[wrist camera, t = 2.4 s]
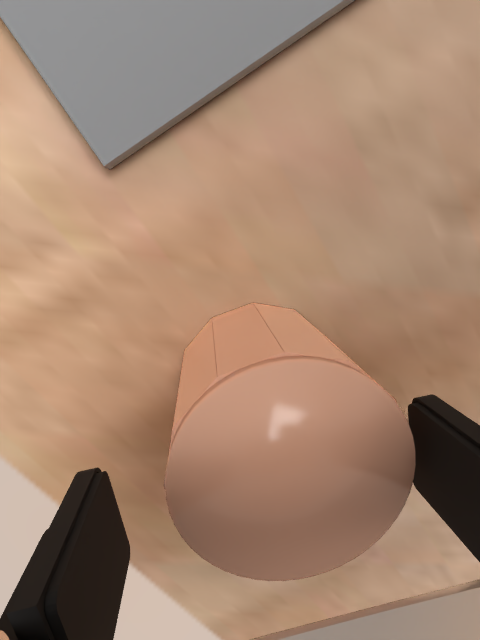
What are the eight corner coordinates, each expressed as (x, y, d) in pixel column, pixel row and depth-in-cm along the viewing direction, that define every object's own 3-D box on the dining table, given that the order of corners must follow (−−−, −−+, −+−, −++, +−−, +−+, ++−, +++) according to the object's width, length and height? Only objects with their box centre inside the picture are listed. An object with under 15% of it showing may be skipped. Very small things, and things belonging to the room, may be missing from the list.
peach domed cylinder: (349, 318, 15) (448, 381, 9) (313, 453, 17) (376, 585, 11) (193, 293, 14) (185, 344, 8) (170, 438, 16) (150, 575, 10)
